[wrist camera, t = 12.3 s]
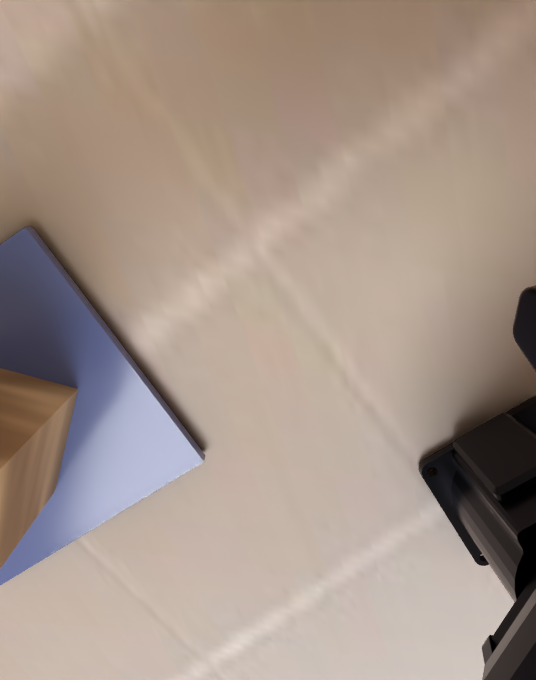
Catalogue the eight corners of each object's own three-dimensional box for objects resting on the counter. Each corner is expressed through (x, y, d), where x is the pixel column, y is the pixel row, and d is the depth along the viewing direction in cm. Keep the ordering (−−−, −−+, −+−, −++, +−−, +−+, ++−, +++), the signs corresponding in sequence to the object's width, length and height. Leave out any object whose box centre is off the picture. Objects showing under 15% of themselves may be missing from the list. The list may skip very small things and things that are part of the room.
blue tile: (205, 455, 22) (203, 461, 21) (-1, 580, 23) (-8, 589, 23) (32, 226, 19) (24, 226, 19) (-191, 383, 21) (-205, 389, 20)
